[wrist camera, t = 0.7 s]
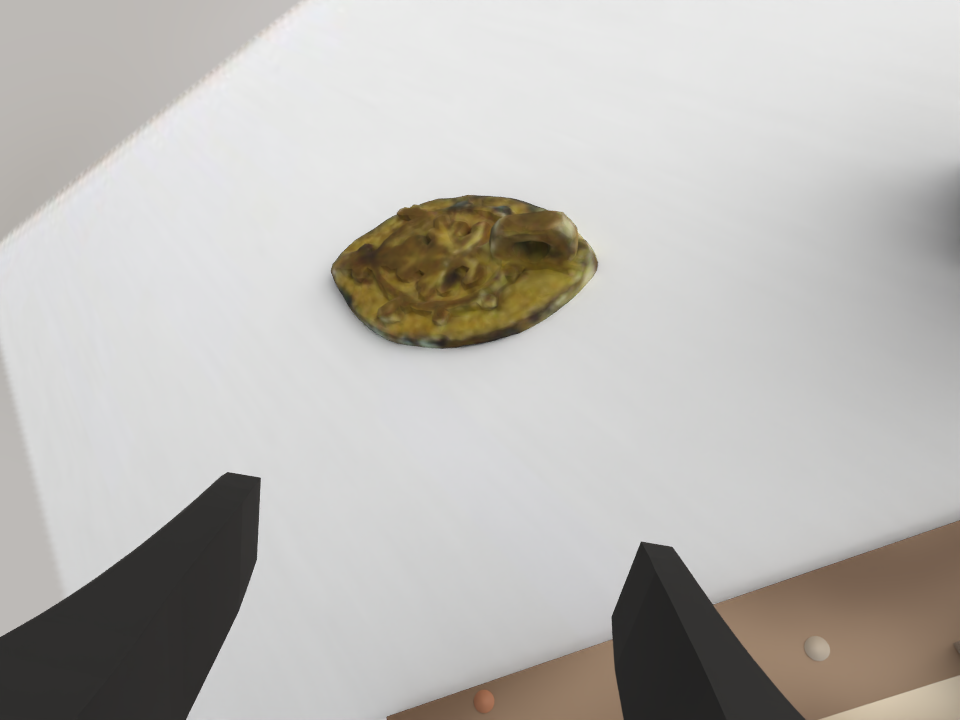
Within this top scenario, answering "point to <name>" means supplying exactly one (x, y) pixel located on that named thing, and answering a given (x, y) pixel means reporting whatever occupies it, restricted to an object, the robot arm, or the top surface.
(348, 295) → the seal
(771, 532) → the top surface
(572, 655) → the counting board
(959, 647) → the knob
